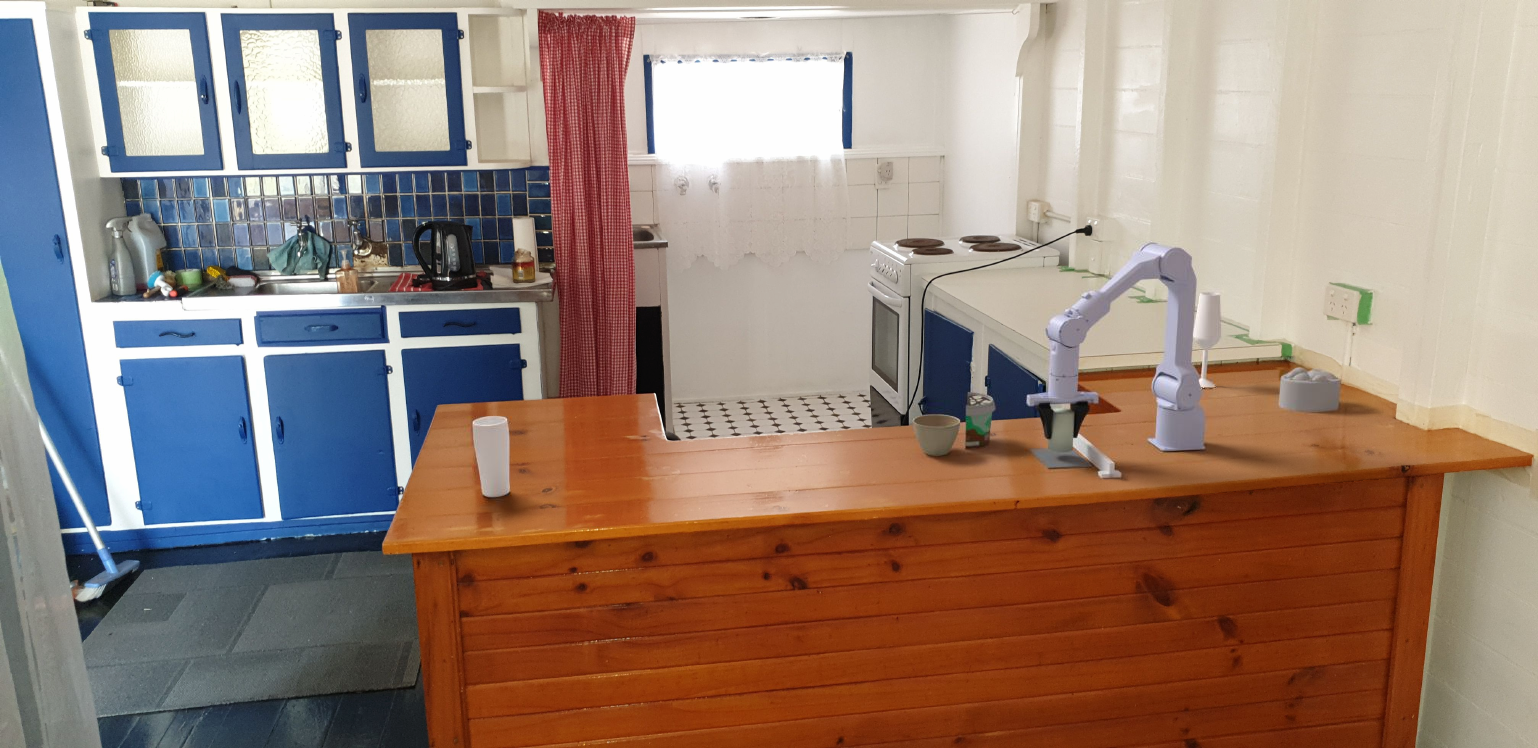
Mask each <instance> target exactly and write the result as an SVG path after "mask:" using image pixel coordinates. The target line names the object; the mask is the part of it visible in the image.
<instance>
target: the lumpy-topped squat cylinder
mask: <svg viewBox="0 0 1538 748" xmlns="http://www.w3.org/2000/svg"><path fill="white" fill-rule="evenodd" d="M1279 384H1280V385H1279V397H1278V405H1279V406H1280V407H1281V409H1282V408H1284V409H1283V410H1286V409H1289V410H1288V411H1291V410H1292V412H1300V411H1302V412H1303V413H1323V412H1332V411H1337V410H1338V409H1339V403H1340V395H1341V394H1340V393H1341V384H1342V379H1341V378H1340V377H1337V376H1335V375H1334V373H1332V372H1329V371H1325V370H1323V369H1320V368H1314V369H1311V370H1308V371H1307V370H1306V368H1305V367H1300V366H1299V367H1295V368H1294V369H1292V370H1291V371H1288V372H1287V373H1284V374H1283V375H1282V376H1281V377H1280V383H1279ZM1279 406H1278V407H1279ZM1280 407H1279V408H1280Z"/></svg>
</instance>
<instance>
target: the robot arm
mask: <svg viewBox="0 0 1538 748" xmlns="http://www.w3.org/2000/svg"><path fill="white" fill-rule="evenodd" d="M1192 260H1193V256H1192V255H1190V254H1189V253H1188V252H1187V251H1186V250H1184V249H1183V248H1181V247H1176V246H1175V247H1173V246H1168V245H1166V244H1165V245H1164V244H1159V243H1157V242H1147V243H1145V244H1143V245H1142V246H1141V247H1140V248H1139V249H1138V250H1135V252H1133V254H1132V256H1131V258H1130V260H1129V261H1128V262H1127V263H1126V264H1125V265H1124V266H1123V267H1122V268H1121V269H1120V270H1119V271H1118V272H1117V273H1116V274H1115V275H1113V277H1111V278H1110V279H1109V280H1108V281H1107V283H1105V284H1104V285H1103V286H1102V287H1101V288H1100V289H1099V290H1090V291H1087V292H1086V291H1085V292H1083V293H1082V294H1081V298H1080V299H1079V300H1077V301H1076V302H1075V303H1074V304H1073V305H1072V306H1071V307H1069V308H1066V309H1064V313H1063V314H1059V315H1055V316H1053V317H1052V318H1051V319H1050V321H1049V323H1048V325H1047V327H1046V328H1045V329H1044V331H1045V335H1046V337H1047V339H1048V340H1049V347H1050V350H1049V351H1050V352H1049V374H1048V375H1049V376H1048V377H1049V378H1048V392H1042V393H1035V394H1034V393H1033V394H1027V395H1026V405H1027V406H1028V407H1035V408H1036V410H1037V412H1038V416H1039V418H1040V420H1041V424H1042V429H1043V434H1044V438H1045V439H1047V440H1048V439H1051V425H1052V417H1053V413H1054V410H1053V409H1054V408H1052V406H1051V405H1069V404H1070V410H1073V411H1074V412H1075V413H1074V434H1073V438H1077V437H1078V433H1079V432H1080V429H1081V427H1082V424H1083V422H1084V420H1085V418H1086V417H1087V415H1088V414H1089V412H1090V409H1091V406H1090V405H1089V403H1092V404H1099V398H1100V397H1099V396H1100V395H1099V393H1098V392H1096V391H1078V387H1079V385H1078V384H1079V383H1078V382H1079V380H1078V379H1079V365H1080V364H1079V361H1080V360H1079V359H1080V345H1081V344H1082V343H1084V341H1085V339H1086V338H1087V333H1088V332H1089V331H1090V330H1091V328H1092V327H1094V325H1096V324H1097V322H1099V321H1100V320H1101V319H1103V318H1104V317H1105V316H1107V314H1108V313H1109V312H1110V310H1111V303H1113V302H1114V301H1115V300H1116V299H1118V298H1119V297H1121V295H1123V294H1124V293H1126V292H1127V291H1129V290H1131V288H1133V286H1135V285H1136V284H1138V283H1139V282H1140V281H1143V280H1159V281H1160V282H1161V283H1162V284H1164V286H1166V288H1167V301H1166V315H1165V316H1166V321H1165V332H1164V333H1165V335H1164V349H1163V351H1164V352H1163V360H1162V362H1160V363H1159V364H1158V365H1156V372H1155V375H1154V376H1153V379H1152V380H1151V381H1152V382H1151V392H1152V394H1153V395H1154V397H1156V400H1155V401H1156V403H1157V407H1156V408H1157V409H1156V420H1155V421H1156V422H1155V437H1152V438H1151V437H1150V438H1149V437H1148V438H1147V441H1148V442H1150V443H1151V444H1152V445H1153V446H1155V447H1156V448H1157V449H1159V450H1160V451H1161V452H1173V451H1174V452H1175V451H1194V450H1195V451H1197V450H1200V451H1201V450H1205V449H1206V446H1204V445H1205V433H1206V432H1205V431H1206V414H1205V410H1204V409H1203V407H1202V406H1201V405H1200V404H1199V403H1200V401H1201V399H1202V396H1203V389H1202V388H1201V386H1200V383H1199V379H1200V374H1199V373H1200V372H1198V371H1197V368H1196V367H1195V365H1194V364H1193V363H1192V360H1193V359H1192V355H1193V340H1194V338H1193V331H1194V325H1195V315H1196V314H1195V313H1196V311H1195V310H1196V299H1197V298H1196V297H1197V283H1198V281H1197V276H1196V274H1195V270H1194V268H1193V266H1192V262H1193V261H1192ZM1079 434H1080V433H1079Z"/></svg>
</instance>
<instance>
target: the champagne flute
mask: <svg viewBox="0 0 1538 748" xmlns="http://www.w3.org/2000/svg"><path fill="white" fill-rule="evenodd" d="M1196 309H1197V310H1196V314H1195V318H1194V329H1193V340H1194V341H1195V343H1196V344H1197V345H1198V346H1199V348H1201V349H1203V351H1202V364H1201V375H1200V378H1199V383H1200V386H1201V387H1203V388H1204V387H1215V385H1216V384H1214V383H1213V382H1212V381H1210V380H1208V379H1207V370H1208V359H1209V358H1208V356H1209V350H1210V349H1212V348H1213V347H1214V346H1215V345H1217V344H1218V343H1219V341H1220V340H1221V338H1222V328H1221V327H1222V324H1221V322H1222V321H1221V320H1222V319H1221V317H1222V316H1221V294H1220V293H1219V292H1214V291H1213V292H1212V291H1204V292H1200V293H1199V298H1198V301H1197V307H1196Z"/></svg>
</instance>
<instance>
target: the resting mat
mask: <svg viewBox="0 0 1538 748" xmlns="http://www.w3.org/2000/svg"><path fill="white" fill-rule="evenodd" d="M1029 450H1030V451H1029V452H1030V453H1032V454H1033V455H1034V456H1035V457H1036V458H1037V459H1038V461H1040V463H1042V464H1043V466H1045V467H1046V468H1047V469H1048V470H1053V469H1072V468H1074V469H1075V468H1092V464H1090V463H1089V462H1088V461H1087V460H1086V459H1085V458H1084V457H1082V456H1081V455H1080V454H1079V453H1078V452H1077V451H1076V450H1075V449H1073V450H1072V451H1069V452H1056V451H1052V450H1049V449H1048V448H1035V449H1032V448H1031V449H1029Z"/></svg>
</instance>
